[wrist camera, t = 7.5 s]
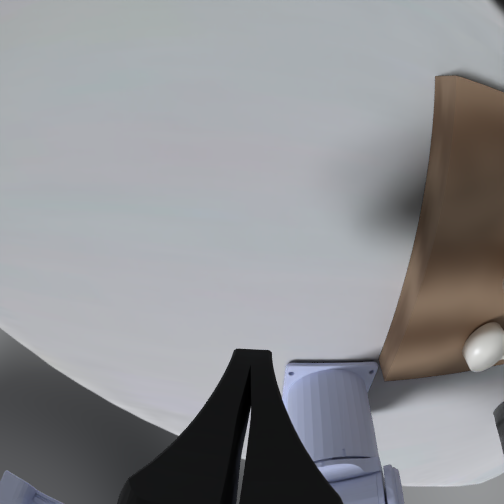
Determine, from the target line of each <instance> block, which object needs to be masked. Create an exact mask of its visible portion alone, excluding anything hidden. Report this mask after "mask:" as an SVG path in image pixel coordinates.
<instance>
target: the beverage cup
mask: <svg viewBox="0 0 504 504" xmlns="http://www.w3.org/2000/svg"><path fill="white" fill-rule="evenodd" d="M493 414H494V417H495V421H496V426H497V430H498V434H499V437H500V441H501V445H502V449H503V453H504V402H503V403H502V404H500V405H499V406H498V407H497V408H496V409H495V411H494V413H493Z"/></svg>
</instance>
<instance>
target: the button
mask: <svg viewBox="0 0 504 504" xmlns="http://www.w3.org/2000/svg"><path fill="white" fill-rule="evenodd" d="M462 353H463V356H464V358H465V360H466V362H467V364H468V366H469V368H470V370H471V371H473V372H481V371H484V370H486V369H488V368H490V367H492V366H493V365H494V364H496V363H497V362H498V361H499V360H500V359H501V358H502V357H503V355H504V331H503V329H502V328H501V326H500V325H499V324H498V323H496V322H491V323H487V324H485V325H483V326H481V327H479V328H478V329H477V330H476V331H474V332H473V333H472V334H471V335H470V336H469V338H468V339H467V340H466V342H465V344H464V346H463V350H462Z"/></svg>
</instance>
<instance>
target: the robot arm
mask: <svg viewBox="0 0 504 504" xmlns="http://www.w3.org/2000/svg"><path fill="white" fill-rule="evenodd" d="M377 370H378V363H377V362H353V363H289V364H287V365H286V369H285V378H284V387H283V395H282V397H281V394H280V391H279V388H278V385H277V381H276V377H275V373H274V368H273V363H272V352H271V351H269V350H253V349H236V350H234V352H233V355H232V358H231V360H230V362H229V365H228V367H227V369H226V371H225V373H224V375H223V376H222V378H221V380H220V382H219V383H218V385H217V387H216V388H215V390H214V392H213V393H212V395H211V396H210V398H209V399H208V401H207V402H206V404H205V405H204V407H203V408H202V409H201V411H200V412H199V413H198V415H197V416H196V417H195V418H194V420H193V421H192V422H191V423H190V424H189V426H188V427H187V428H186V429H185V430H184V431H183V432H182V433H181V434H180V436H179V437H178V438H177V439H176V440H175V441H174V442H173V443H172V444H171V445H170V446H169V447H168V448H166V449H165V450H164V451H163V452H162V453H161V454H160V455H158V456H157V457H156V458H155V459H154V460H153V461H151V462H150V463H149V464H148V465H146V466H145V467H143V468H142V469H141V470H139V471H138V472H136V473H135V474H133V475H132V476H131V477H129V478H128V480H127V481H126V483H125V485H124V487H123V489H122V491H121V493H120V496H119V499H118V503H117V504H236V501H237V490H238V479H239V470H240V460H241V454H242V448H243V443H244V438H245V433H246V429H247V424H248V418H249V413H250V408H251V421H250V429H249V438H248V446H247V454H246V461H245V469H244V476H243V483H242V490H241V495H240V502H239V504H404V499H403V492H402V486H401V480H400V475H399V471H398V469H396V468H394V467H392V465H386V466H383V469H384V476H383V471H382V466H381V462H380V458H379V455H378V449H377V443H376V437H375V431H374V426H373V420H372V415H371V410H370V405H369V400H368V395H367V393H368V391H369V389H370V387H371V384H372V382H373V379H374V377H375V375H376V372H377ZM384 477H385V478H384ZM384 482H385V483H384ZM0 504H64V503H62V502H60V501H58V500H56V499H54V498H51V497H50V496H47V495H46V494H44V493H42V492H40V491H38V490H36V489H35V488H34V487H33V486H32V485H30V484H29V483H27V482H25V481H24V480H22V479H20V478H19V477H17V476H16V475H14V474H12V473H10V472H9V471H8V470H6V471H5V472H4V474H3V477H2V479H1V481H0Z"/></svg>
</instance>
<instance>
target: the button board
mask: <svg viewBox="0 0 504 504" xmlns="http://www.w3.org/2000/svg"><path fill="white" fill-rule="evenodd" d="M503 279H504V93H503V92H501V91H498V90H496V89H493V88H491V87H488V86H485V85H483V84H480V83H477V82H474V81H471V80H468V79H465V78H462V77H459V76H435V100H434V116H433V128H432V139H431V148H430V156H429V164H428V171H427V178H426V184H425V191H424V196H423V202H422V207H421V213H420V218H419V223H418V227H417V232H416V237H415V241H414V245H413V250H412V254H411V258H410V262H409V266H408V269H407V273H406V277H405V280H404V284H403V287H402V291H401V294H400V298H399V301H398V304H397V307H396V311H395V314H394V317H393V320H392V323H391V326H390V329H389V332H388V335H387V338H386V340H385V343H384V346H383V349H382V351H381V354H380V357H379V363H380V366H381V370H382V374H383V377H384V381H395V380H406V379H415V378H424V377H432V376H439V375H446V374H453V373H459V372H465V371H471V370H470V368H469V366H468V364H467V362H466V360H465V358H464V356H463V353H462V350H463V346H464V344H465V342H466V340H467V339H468V338H469V336H470V335H471V334H472V333H473V332H474V331H476V330H477V329H478V328H479V327H481V326H483V325H485V324H487V323H491V322H496V323H498V324H499V325H500V326H501V328H502V329H503V331H504V292H503ZM501 364H504V355H503V357H502V358H501V359H500V360H499V361H498V362H497V363H496V364H494V365H493V366H496V365H501Z"/></svg>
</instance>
